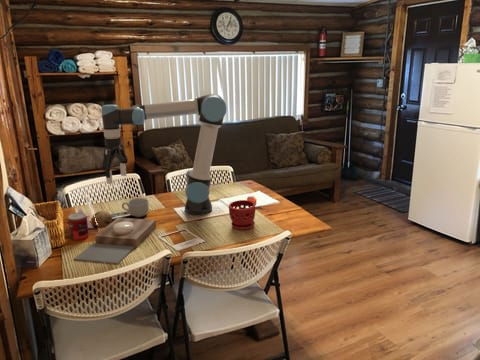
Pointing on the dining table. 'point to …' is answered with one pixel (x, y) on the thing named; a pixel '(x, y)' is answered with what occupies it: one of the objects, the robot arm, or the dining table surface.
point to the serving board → (130, 239)
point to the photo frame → (184, 244)
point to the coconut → (101, 218)
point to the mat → (104, 253)
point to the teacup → (137, 207)
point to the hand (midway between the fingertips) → (117, 179)
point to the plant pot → (242, 214)
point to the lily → (87, 218)
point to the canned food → (78, 226)
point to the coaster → (123, 227)
